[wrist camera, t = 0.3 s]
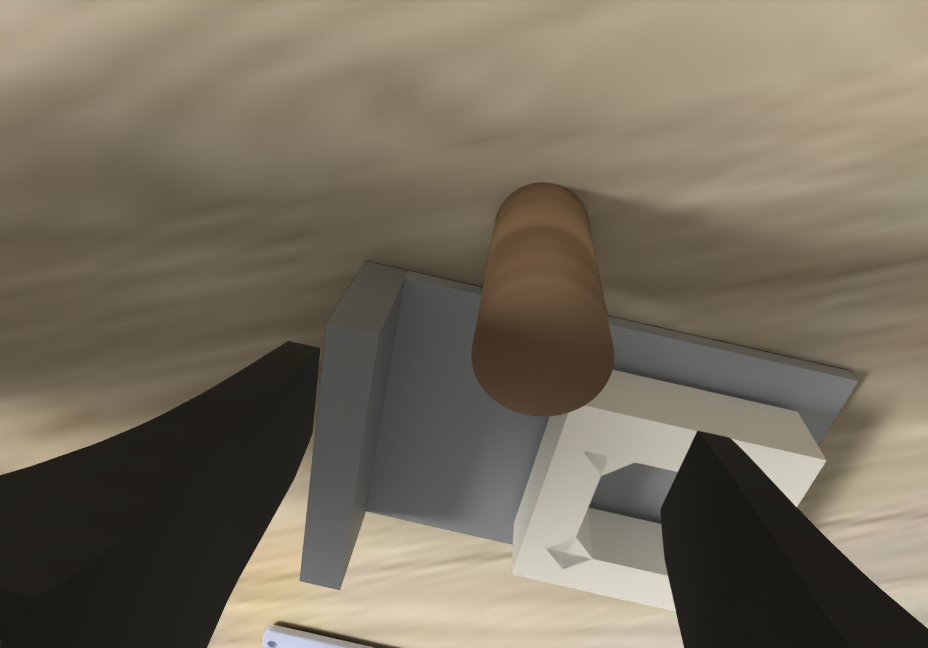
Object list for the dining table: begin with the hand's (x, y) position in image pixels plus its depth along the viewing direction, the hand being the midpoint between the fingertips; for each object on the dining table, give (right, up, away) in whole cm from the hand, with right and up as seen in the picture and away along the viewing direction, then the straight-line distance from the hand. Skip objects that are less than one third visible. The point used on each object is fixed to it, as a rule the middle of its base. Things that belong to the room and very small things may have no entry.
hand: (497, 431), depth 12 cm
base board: (+3, -2, +12) cm, 13 cm away
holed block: (+6, -3, +12) cm, 13 cm away
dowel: (+2, +5, +8) cm, 10 cm away
